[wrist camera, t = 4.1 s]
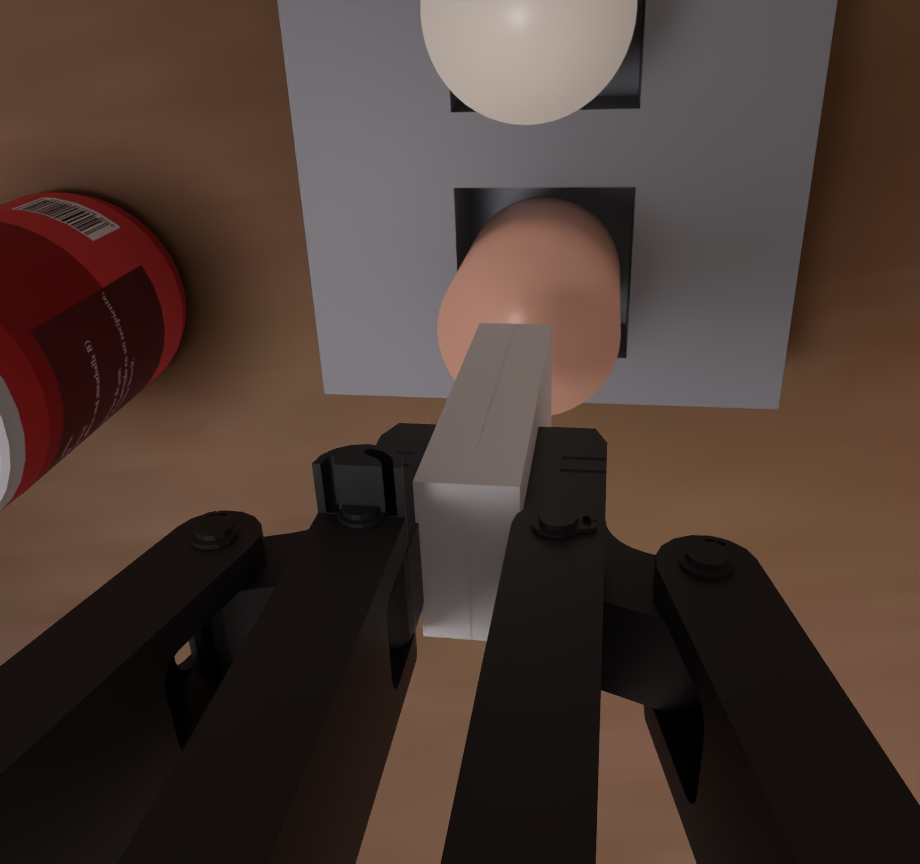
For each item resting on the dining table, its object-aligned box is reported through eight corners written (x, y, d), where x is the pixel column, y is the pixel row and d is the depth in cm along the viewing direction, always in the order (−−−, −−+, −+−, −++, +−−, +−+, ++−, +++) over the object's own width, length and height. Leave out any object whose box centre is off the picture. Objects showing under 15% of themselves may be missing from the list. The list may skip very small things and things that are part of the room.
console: (275, -485, 21) (207, -577, 18) (878, -567, 19) (938, -691, 16) (357, 347, 31) (324, 393, 28) (758, 358, 29) (778, 409, 26)
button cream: (455, -92, 21) (413, -110, 17) (638, -102, 21) (643, -124, 16) (462, 99, 23) (426, 127, 19) (628, 96, 23) (631, 123, 18)
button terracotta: (466, 197, 24) (432, 244, 20) (624, 196, 24) (625, 245, 19) (471, 342, 26) (441, 414, 22) (616, 346, 26) (616, 421, 21)
